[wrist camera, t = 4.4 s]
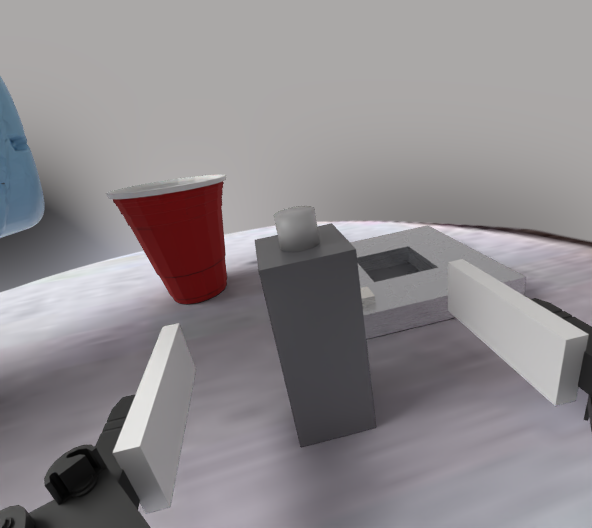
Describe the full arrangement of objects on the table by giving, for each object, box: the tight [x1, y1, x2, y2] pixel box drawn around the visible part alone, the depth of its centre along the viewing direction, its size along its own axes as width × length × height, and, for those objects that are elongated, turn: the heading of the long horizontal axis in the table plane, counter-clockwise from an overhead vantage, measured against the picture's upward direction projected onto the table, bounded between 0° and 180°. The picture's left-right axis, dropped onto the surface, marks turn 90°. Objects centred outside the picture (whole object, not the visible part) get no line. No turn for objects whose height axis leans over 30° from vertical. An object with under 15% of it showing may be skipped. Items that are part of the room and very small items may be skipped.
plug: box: [255, 206, 376, 447], centre depth 17 cm, size 4×4×12 cm
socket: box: [351, 226, 526, 339], centre depth 31 cm, size 14×14×3 cm
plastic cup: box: [107, 175, 227, 304], centre depth 35 cm, size 11×11×12 cm
